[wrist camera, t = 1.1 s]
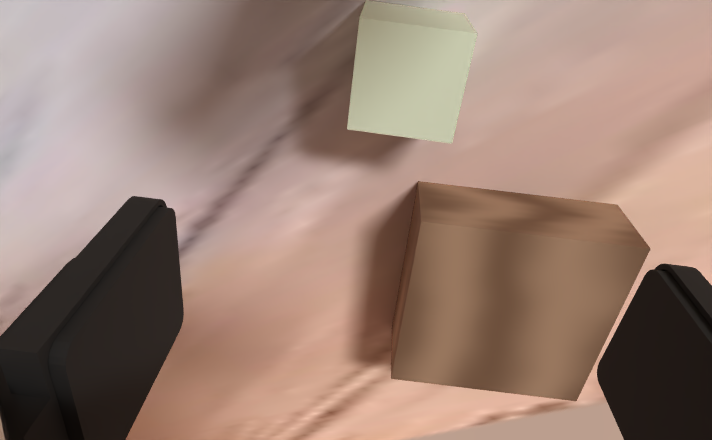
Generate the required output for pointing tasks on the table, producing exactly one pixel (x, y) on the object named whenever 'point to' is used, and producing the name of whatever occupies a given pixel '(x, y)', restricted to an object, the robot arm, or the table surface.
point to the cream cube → (410, 71)
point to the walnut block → (510, 289)
